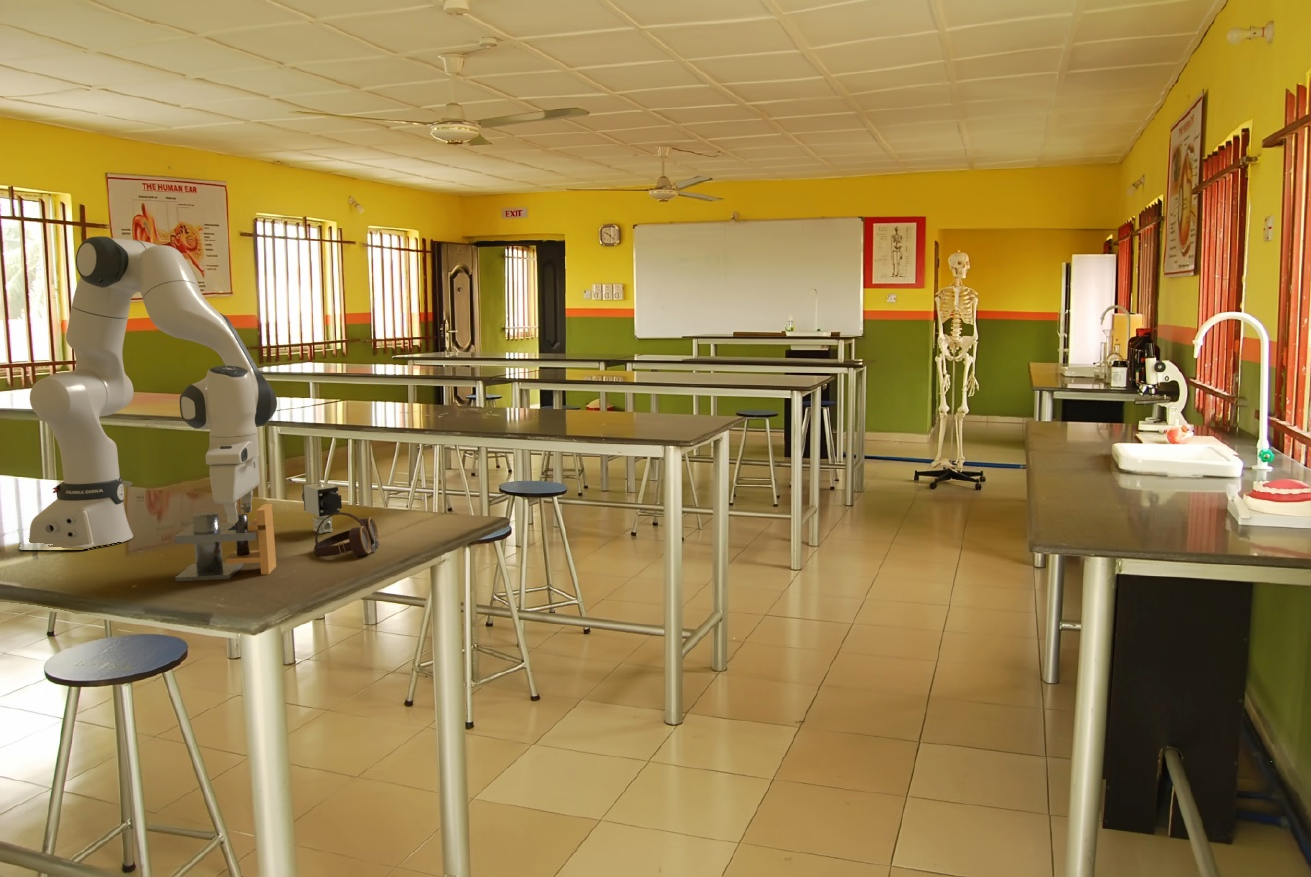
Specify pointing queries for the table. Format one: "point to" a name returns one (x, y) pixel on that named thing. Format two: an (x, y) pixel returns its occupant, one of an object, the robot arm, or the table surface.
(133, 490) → the table surface
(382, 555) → the table surface
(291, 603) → the table surface
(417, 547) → the table surface
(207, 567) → the double plate spool
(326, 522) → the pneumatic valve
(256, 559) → the bracket
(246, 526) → the pin
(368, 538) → the goggles
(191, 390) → the robot arm
